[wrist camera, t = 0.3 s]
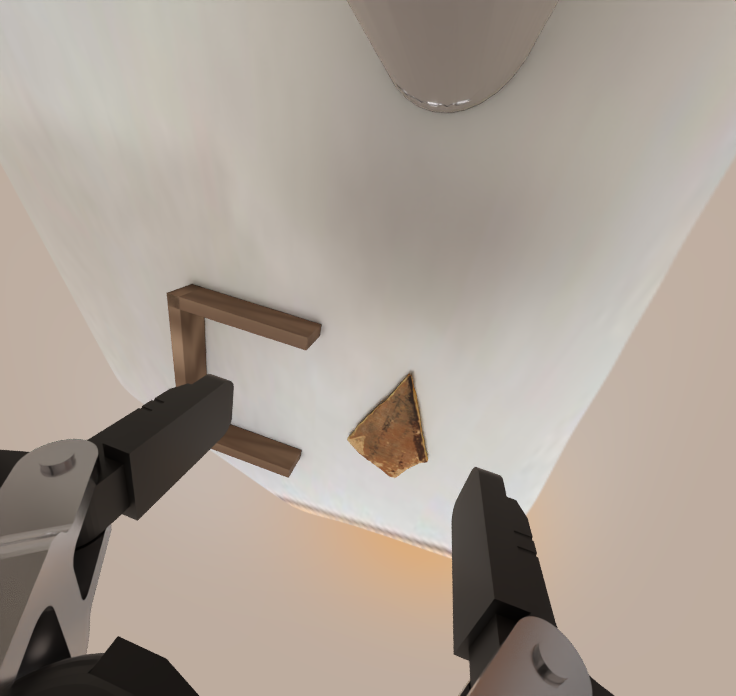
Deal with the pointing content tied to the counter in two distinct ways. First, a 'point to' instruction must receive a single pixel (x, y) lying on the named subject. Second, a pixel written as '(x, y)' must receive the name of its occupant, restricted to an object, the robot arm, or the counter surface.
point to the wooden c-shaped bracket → (191, 359)
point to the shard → (393, 432)
